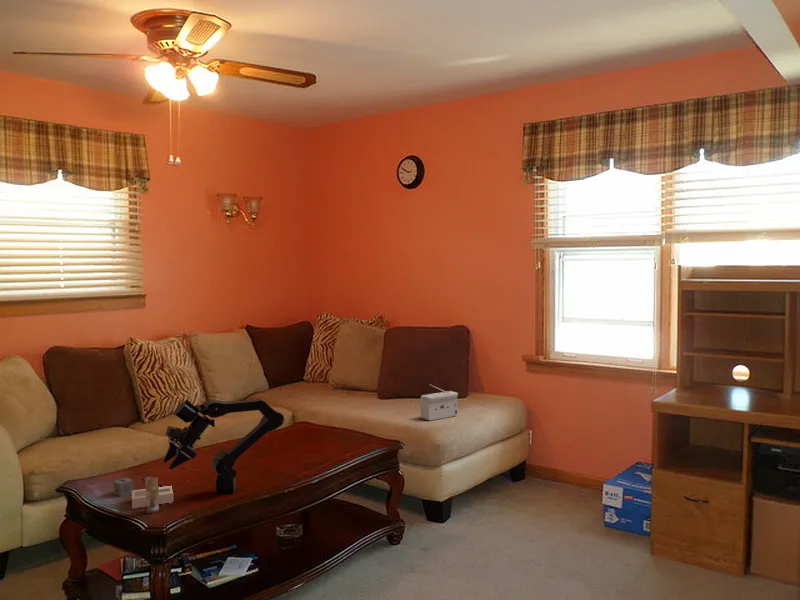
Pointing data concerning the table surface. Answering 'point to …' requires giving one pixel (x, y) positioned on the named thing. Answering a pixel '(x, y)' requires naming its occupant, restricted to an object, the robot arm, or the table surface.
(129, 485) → the dice cube
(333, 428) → the table surface
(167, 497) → the keyhole block
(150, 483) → the maple peg
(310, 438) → the table surface
